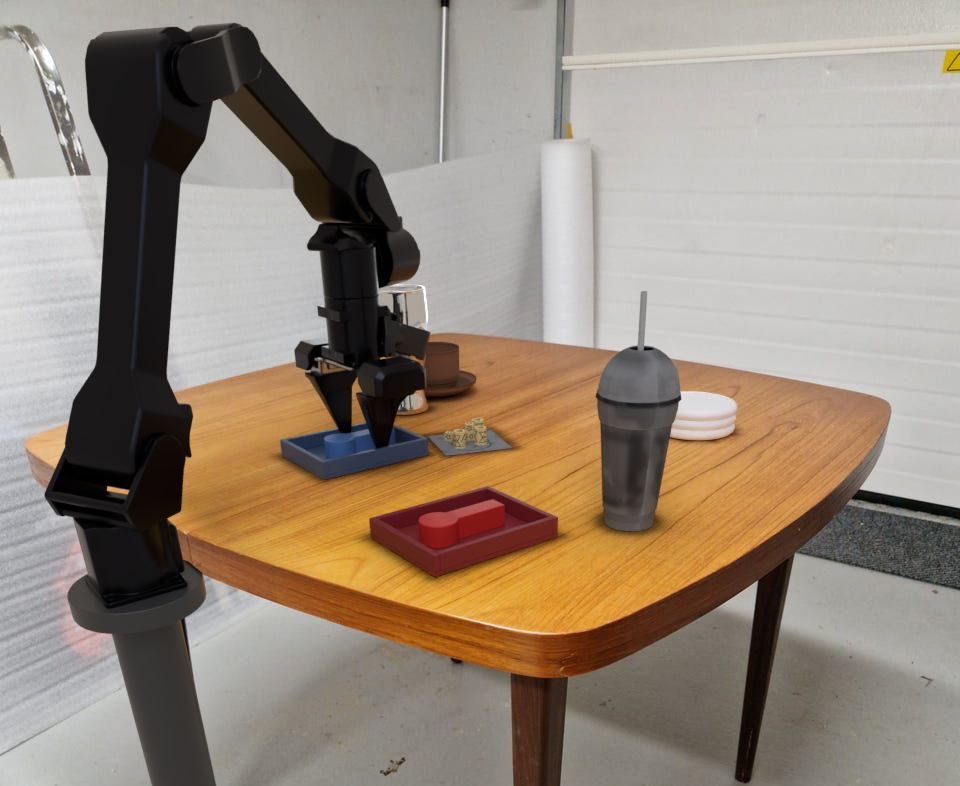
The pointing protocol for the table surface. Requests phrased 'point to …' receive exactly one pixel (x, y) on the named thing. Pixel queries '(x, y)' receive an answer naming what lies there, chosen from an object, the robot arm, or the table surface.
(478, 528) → the red spoon
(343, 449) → the blue spoon
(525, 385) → the table surface
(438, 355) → the cup and saucer
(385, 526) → the red tray
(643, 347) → the beverage cup
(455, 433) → the dice set
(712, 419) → the white stacked discs
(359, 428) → the blue tray
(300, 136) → the robot arm
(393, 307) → the beer glass
